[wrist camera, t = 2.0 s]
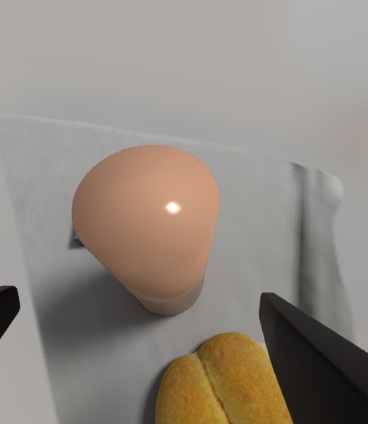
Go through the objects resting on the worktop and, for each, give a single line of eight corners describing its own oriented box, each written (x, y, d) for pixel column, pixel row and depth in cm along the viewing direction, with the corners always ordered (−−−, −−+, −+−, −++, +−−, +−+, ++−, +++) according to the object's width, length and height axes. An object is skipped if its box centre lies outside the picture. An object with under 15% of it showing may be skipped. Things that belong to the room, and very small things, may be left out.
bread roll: (140, 382, 17) (127, 390, 13) (242, 318, 19) (254, 310, 15) (196, 545, 13) (199, 616, 9) (318, 442, 15) (356, 469, 11)
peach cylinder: (207, 312, 19) (232, 261, 8) (132, 318, 19) (57, 274, 8) (199, 244, 22) (209, 141, 11) (135, 249, 22) (83, 149, 11)
